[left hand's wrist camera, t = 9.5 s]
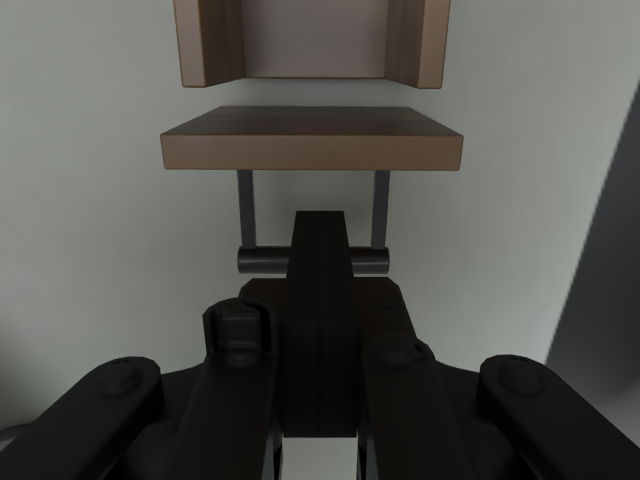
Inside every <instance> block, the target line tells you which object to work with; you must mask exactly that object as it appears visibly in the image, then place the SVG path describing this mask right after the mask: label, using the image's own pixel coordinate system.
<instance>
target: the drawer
mask: <svg viewBox="0 0 640 480" xmlns="http://www.w3.org/2000/svg"><path fill="white" fill-rule="evenodd" d="M450 2H451V0H173V3H174V13H175V22H176V32H177V41H178V51H179V60H180V70H181V79H182V86H183V87H185V88H205V87H209V86H213V85H218V84H222V83H226V82H230V81H234V80H239V79H243V78H305V79H387V80H390V81H394V82H397V83H401V84H404V85H408V86H411V87H415V88H418V89H440V88H441V87H442V80H443V70H444V60H445V51H446V41H447V31H448V21H449V11H450ZM463 139H464V137H463V135H461V134H459V133H457V132H455V131H453V130H451V129H449V128H448V127H446V126H444V125H442V124H440V123H438V122H436V121H434V120H432V119H430V118H429V117H427V116H425V115H423V114H421V113H419V112H417V111H415V110H413V109H412V108H410V107H270V106H220V107H218V108H216V109H214V110H212V111H209V112H207V113H205V114H203V115H201V116H199V117H196V118H194V119H192V120H190V121H188V122H186V123H184V124H181V125H179V126H177V127H175V128H173V129H171V130H169V131H166V132H164V133H162V134H160V140H161V147H162V155H163V163H164V168H165V169H197V170H237V176H238V191H239V206H240V221H241V236H242V246H240V247H239V250H238V258H237V263H238V271H239V273H267V274H287V269H288V262H289V256H290V250H291V246H256V244H257V243H256V224H255V205H254V186H253V170H375V174H374V193H373V212H372V232H371V246H349V250H350V256H351V262H352V269H353V274H388V271H389V262H390V259H389V249H388V247H385V240H386V224H387V209H388V193H389V178H390V170H406V171H458V170H459V169H460V163H461V155H462V147H463Z"/></svg>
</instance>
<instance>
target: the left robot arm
mask: <svg viewBox="0 0 640 480" xmlns="http://www.w3.org/2000/svg"><path fill="white" fill-rule="evenodd" d="M202 316H203V325H204V333H205V342H206V351H207V354H206V357H205V360H204V362H203V363H201V364H199V365H197V366H195V367H191V368H188V369H184V370H180V371H176V372H171V373H166V374H161V372H160V367H159V366H158V365H157V364H156V363H155V361H154V360H151V359H148V358H145V357H130V356H129V357H123V358H118V359H114V360H111V361H109V362H107V363H104V364H102V365H99V366H98V367H96V368H95V369H93V370H92V371H90V372H89V373H87V374H86V375H85V376H84V377H83V378H82V379H81V380H79V381H78V382H77V383H76V384H75V385H74V386H73V387H72V388H71V389H69V390H68V391H67V392H66V393H65V394H64V395H63V396H62V397H60V398H59V399H58V400H57V401H56V402H55V403H54V404H53V405H52V406H50V407H49V408H48V409H47V410H46V411H45V412H44V413H43V414H42V415H40V416H39V417H38V418H37V419H36V420H35V421H34V422H33V423H31V424H30V425H24V426H18V427H14V428H10V429H7V430H4V431H1V432H0V480H281V475H282V464H283V452H282V435H283V437H284V438H356V437H357V433H358V452H357V475H356V480H640V448H639V447H638V446H637V445H635V444H634V443H633V442H632V441H631V440H630V439H629V438H628V437H626V436H625V435H624V434H623V433H622V432H621V431H620V430H618V429H617V428H616V427H615V426H614V425H613V424H612V423H611V422H610V421H608V420H607V419H606V418H605V417H604V416H603V415H602V414H601V413H599V412H598V411H597V410H596V409H595V408H594V407H593V406H592V405H590V404H589V403H588V402H587V401H586V400H585V399H584V398H583V397H581V396H580V395H579V394H578V393H577V392H576V391H575V390H573V389H572V388H571V387H570V386H569V385H568V384H567V383H566V382H565V381H563V380H562V379H561V378H560V377H559V376H558V375H557V374H556V373H554V372H553V371H552V370H550V369H549V368H547V367H546V366H544V365H543V364H541V363H539V362H536V361H534V360H532V359H529V358H527V357H522V356H518V355H496V356H493V357H490V358H487V359H486V360H485V361H484V362H483V363H482V364H481V366H480V372H479V373H478V372H474V371H469V370H464V369H459V368H455V367H452V366H448V365H445V364H443V363H441V362H439V361H436V359H435V356H434V354H433V352H432V351H431V349H430V348H429V346H428V345H427V344H425V343H424V342H422V341H421V340H419V339H418V338H417V336H416V334H415V331H414V328H413V325H412V322H411V319H410V316H409V314H408V311H407V309H406V305H405V302H404V299H403V297H402V294H401V291H400V288H399V286H398V285H397V284H396V283H394V282H393V281H392V280H391V279H390V278H388V277H354V275H353V269H352V262H351V256H350V250H349V243H348V237H347V230H346V224H345V218H344V211H296V218H295V224H294V230H293V237H292V243H291V250H290V256H289V262H288V269H287V275H286V278H252V279H251V280H250V281H249V282H247V283H246V284H245V285H244V286H243V287H241V290H240V293H239V295H238V297H236V298H230V299H226V300H223V301H220V302H217V303H216V304H214V305H212V306H210V307H209V308H208V309H207V310H206V311H205V312H204V314H203V315H202Z"/></svg>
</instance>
